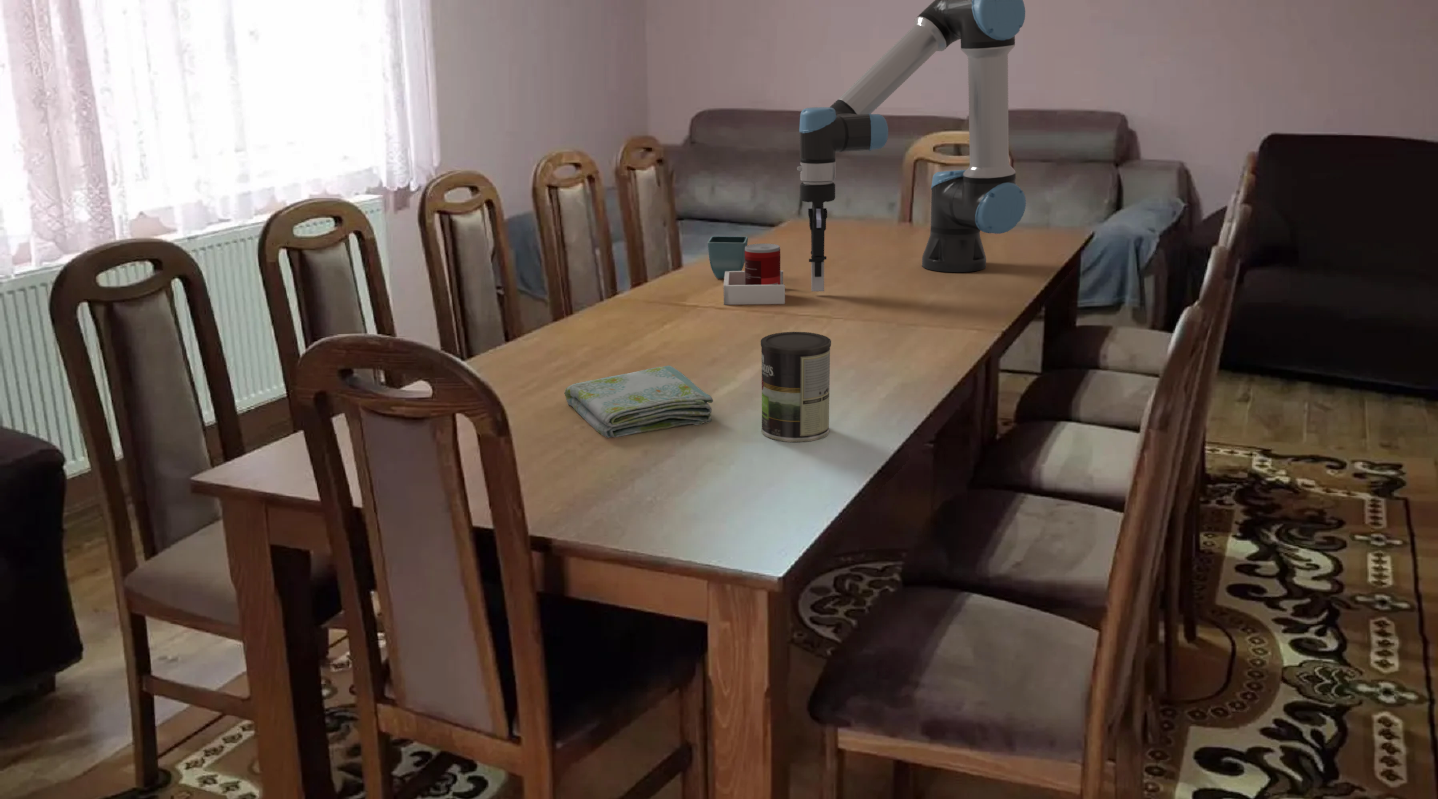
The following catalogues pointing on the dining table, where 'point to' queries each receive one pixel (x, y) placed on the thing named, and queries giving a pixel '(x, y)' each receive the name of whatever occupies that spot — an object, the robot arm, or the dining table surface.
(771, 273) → the canned food
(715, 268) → the flower pot
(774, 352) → the coffee can
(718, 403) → the dining table surface
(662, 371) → the towel
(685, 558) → the dining table surface
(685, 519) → the dining table surface
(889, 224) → the dining table surface
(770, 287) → the white open tray
